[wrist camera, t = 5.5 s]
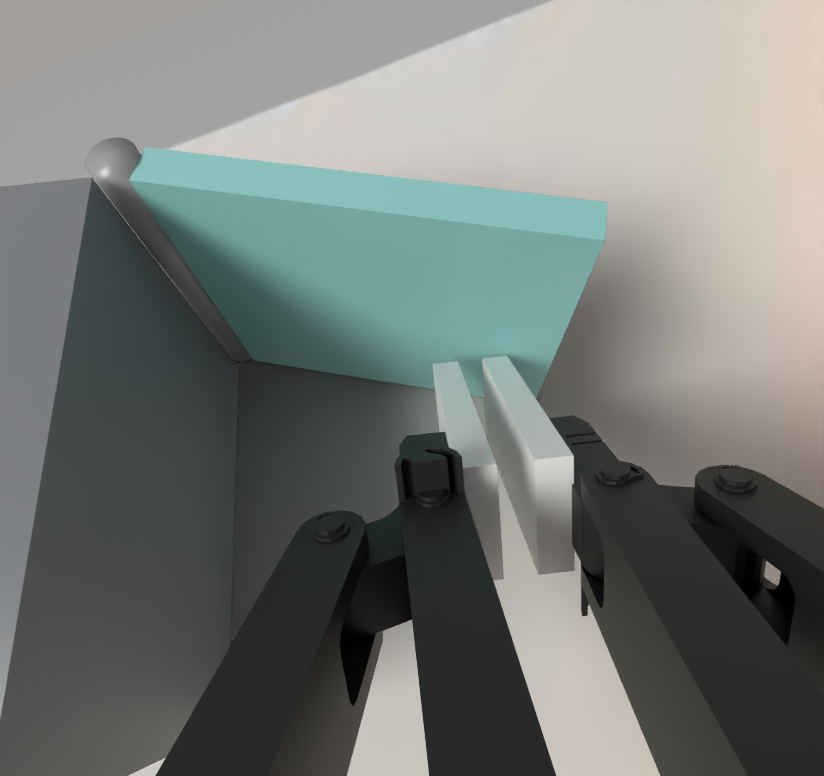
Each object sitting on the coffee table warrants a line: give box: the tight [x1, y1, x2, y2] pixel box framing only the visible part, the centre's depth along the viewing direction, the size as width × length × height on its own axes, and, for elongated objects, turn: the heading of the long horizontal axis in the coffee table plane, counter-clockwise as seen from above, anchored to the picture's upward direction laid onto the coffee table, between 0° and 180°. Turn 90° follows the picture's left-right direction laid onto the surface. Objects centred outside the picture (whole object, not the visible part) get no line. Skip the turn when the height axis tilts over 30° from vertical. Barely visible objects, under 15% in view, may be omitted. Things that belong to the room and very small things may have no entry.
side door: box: [85, 138, 608, 398], centre depth 17 cm, size 12×2×10 cm, turn 79°
